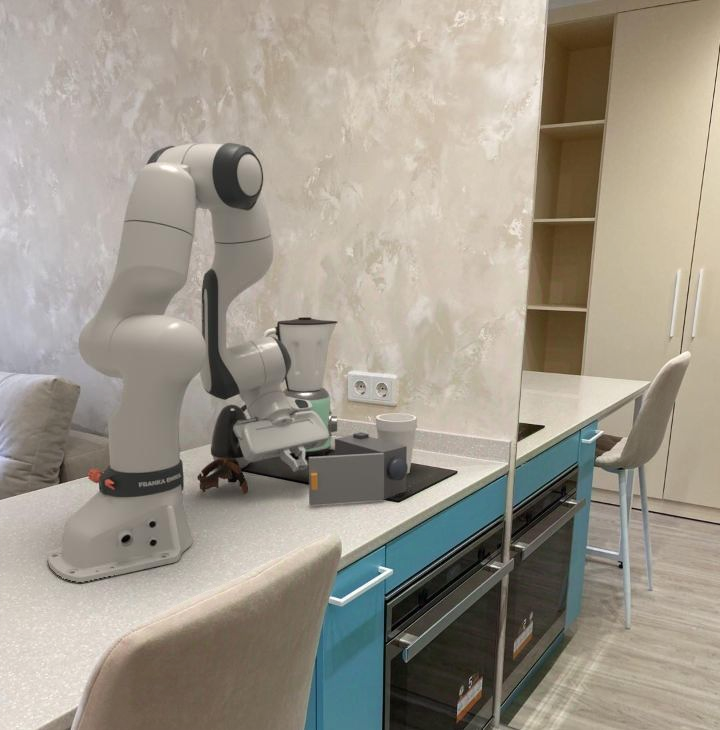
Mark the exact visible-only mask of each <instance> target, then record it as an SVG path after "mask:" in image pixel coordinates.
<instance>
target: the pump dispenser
mask: <svg viewBox="0 0 720 730" xmlns="http://www.w3.org/2000/svg"><path fill="white" fill-rule="evenodd" d="M245 411H247V406H246V404H244V405H242V406H241V407H240V406H238V405H236V404H227V405H225V406H224V407H223V408H222V409H221V410H220V412H219V414H218V415H217V417H216V421H215V424H214V427H213V431H212V437H211V444H210V454H211V456H212V459H213V461H215V460H217V459H220V458H226V459H229V458H235V459H236V460H237V461H238V463H239V467H240V469H241V470H242V469H244V468H245V467H247V466H249V464H250V463H251V462H249V461H247V460H246V459H245V458H244V456H243V453H242V450H241V448H240V444H239V440H238V438H237V436H236V435H235V433H234V430H233V426H234V424H235V423H237V421H239V420H246V419H248V418H247V416H246V413H245ZM218 468H220V466H219V467H218Z"/></svg>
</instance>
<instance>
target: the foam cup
mask: <svg viewBox="0 0 720 730" xmlns="http://www.w3.org/2000/svg"><path fill="white" fill-rule="evenodd" d="M417 428H418V417H416V415H413V414H409V413H399V412H398V413H397V412H396V413H394V412H392V413H390V412H389V413H381V414H378V415H376V416H375V429H376V433H377V439H380V440H384V441H388V442H392V443H396V444H399V445H403V446H407V457H406V463H407V466H408V470H407V473H409V474H410V470H411V465H412V458H413V450H414V444H415V439H416V438H415V437H416V429H417Z"/></svg>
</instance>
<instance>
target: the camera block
mask: <svg viewBox="0 0 720 730" xmlns="http://www.w3.org/2000/svg"><path fill="white" fill-rule="evenodd" d="M371 453H384V500H387V498H388V499H390V498H389V497H391V496H394V495H396V494H399V493H402V492H405V491H406V492H407V475H408V474H407V470H408V466H407V463H406V457H407V446H403V445H399V444H396V443H392V442H388V441H384V440H380V439H378V438H377V437H371V436H370V435H369V434H368V433H366V432H362V431H361V432H357V433H353V434H352V435H347V436H342V437H341V436H340V437H337V438H334V456H336V455H353V454H371ZM406 474H407V475H406ZM394 497H395V496H394ZM391 498H392V497H391Z"/></svg>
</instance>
